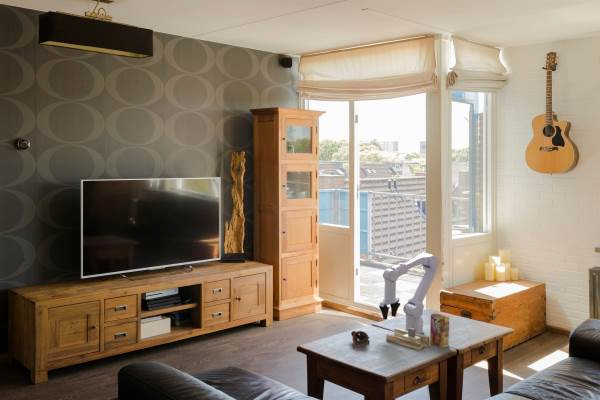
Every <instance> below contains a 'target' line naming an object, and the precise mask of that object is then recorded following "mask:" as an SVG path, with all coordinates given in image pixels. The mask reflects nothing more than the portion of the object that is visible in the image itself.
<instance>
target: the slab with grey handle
mask: <svg viewBox="0 0 600 400" xmlns="http://www.w3.org/2000/svg"><path fill="white" fill-rule="evenodd" d="M415 331H416V329H413V328H408V334H405V335H403V337H402V338H404V339H408V340H411V341H415V342H419V343H421V337H419V336H415Z"/></svg>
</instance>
